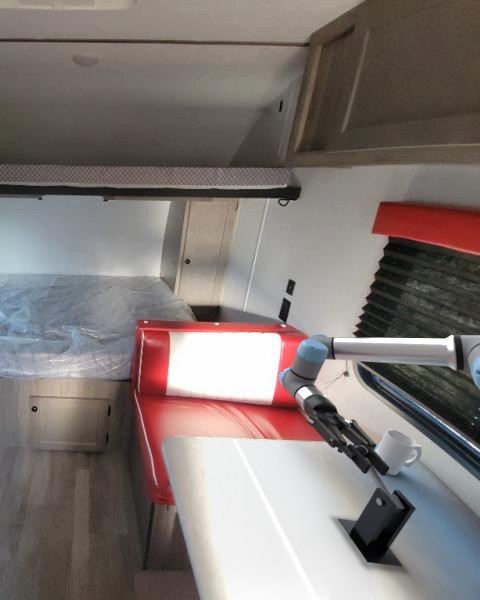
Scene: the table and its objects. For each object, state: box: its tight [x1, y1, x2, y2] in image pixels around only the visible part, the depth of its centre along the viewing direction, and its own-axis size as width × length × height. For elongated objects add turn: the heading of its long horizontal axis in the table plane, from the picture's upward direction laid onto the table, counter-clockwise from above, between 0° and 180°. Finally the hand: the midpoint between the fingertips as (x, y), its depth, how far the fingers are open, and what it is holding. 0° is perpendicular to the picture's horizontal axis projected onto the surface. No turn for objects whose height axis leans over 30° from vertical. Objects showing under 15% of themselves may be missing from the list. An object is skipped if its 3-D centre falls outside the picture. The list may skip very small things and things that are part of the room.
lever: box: [352, 444, 405, 513], centre depth 79 cm, size 15×4×4 cm, turn 177°
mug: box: [375, 428, 423, 476], centre depth 100 cm, size 10×7×12 cm, turn 73°
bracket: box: [337, 487, 417, 568], centre depth 76 cm, size 10×8×16 cm
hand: (376, 470), depth 78 cm, fingers closed on lever, 4 cm apart
